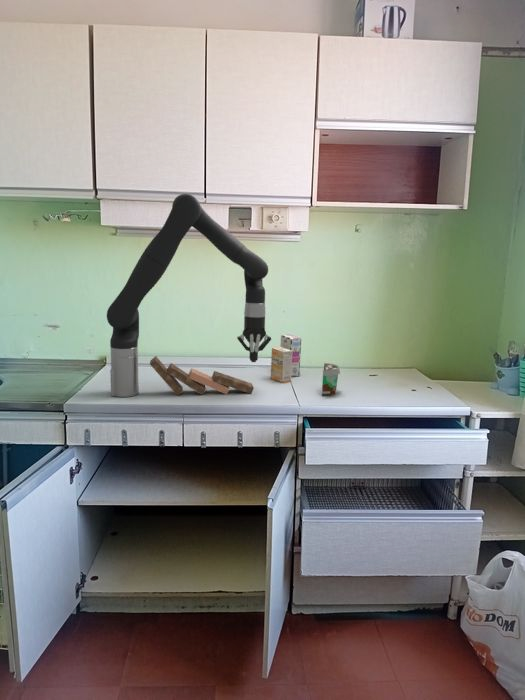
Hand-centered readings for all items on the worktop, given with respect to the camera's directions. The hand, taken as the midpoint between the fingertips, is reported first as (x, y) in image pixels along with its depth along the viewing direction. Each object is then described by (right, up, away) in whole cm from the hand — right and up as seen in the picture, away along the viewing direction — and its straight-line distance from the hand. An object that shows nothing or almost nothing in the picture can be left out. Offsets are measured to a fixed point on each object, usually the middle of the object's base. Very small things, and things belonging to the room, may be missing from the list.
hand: (253, 361), depth 181 cm
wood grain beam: (-1, -10, +2) cm, 10 cm away
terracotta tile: (-10, -10, +1) cm, 14 cm away
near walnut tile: (-27, -11, -3) cm, 29 cm away
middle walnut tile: (-18, -10, -1) cm, 21 cm away
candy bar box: (+15, -6, +30) cm, 34 cm away
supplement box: (+11, -8, +19) cm, 24 cm away
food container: (+29, -12, +4) cm, 31 cm away
